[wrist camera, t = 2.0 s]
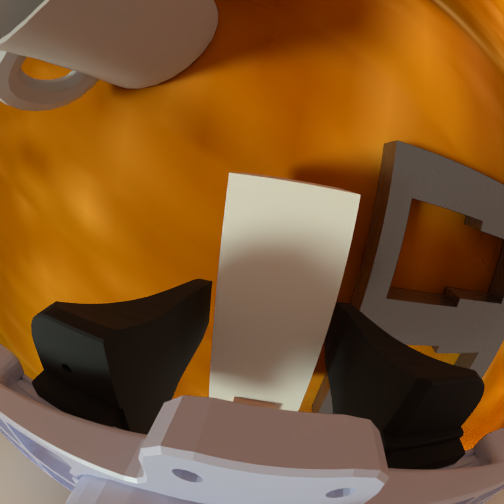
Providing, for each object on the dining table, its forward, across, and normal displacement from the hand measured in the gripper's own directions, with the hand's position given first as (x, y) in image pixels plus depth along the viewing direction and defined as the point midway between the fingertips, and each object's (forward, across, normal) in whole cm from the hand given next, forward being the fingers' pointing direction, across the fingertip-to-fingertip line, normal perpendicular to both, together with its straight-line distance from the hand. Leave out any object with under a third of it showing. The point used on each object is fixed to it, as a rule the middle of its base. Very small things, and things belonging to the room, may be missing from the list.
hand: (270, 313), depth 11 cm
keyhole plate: (+2, -10, 0) cm, 10 cm away
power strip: (+2, 0, 0) cm, 2 cm away
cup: (+2, +9, -12) cm, 15 cm away
